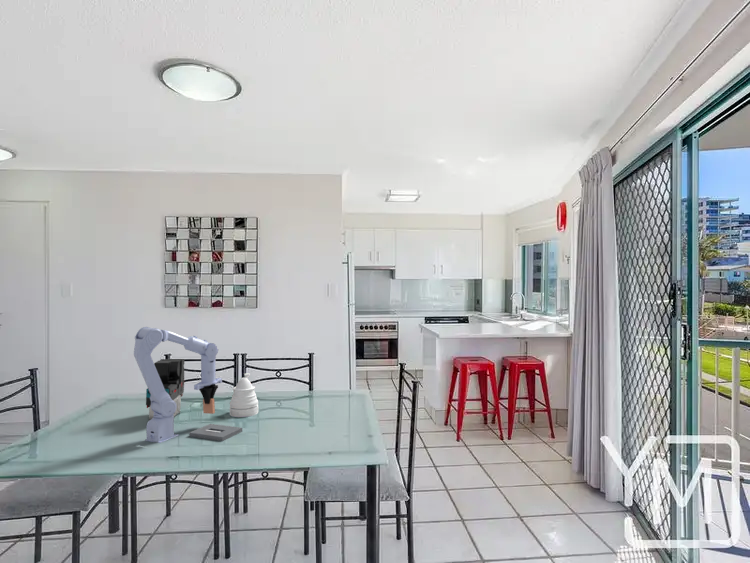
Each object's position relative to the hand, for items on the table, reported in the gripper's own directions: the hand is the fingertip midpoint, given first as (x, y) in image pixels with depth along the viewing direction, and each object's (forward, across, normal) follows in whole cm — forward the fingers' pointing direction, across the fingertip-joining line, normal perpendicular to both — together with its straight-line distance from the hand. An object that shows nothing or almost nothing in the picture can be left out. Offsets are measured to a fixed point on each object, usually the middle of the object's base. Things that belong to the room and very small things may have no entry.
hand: (208, 403), depth 194 cm
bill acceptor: (+10, +4, +28) cm, 30 cm away
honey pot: (+10, +22, -1) cm, 25 cm away
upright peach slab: (+4, 0, 0) cm, 4 cm away
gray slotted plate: (+10, -8, -10) cm, 16 cm away
